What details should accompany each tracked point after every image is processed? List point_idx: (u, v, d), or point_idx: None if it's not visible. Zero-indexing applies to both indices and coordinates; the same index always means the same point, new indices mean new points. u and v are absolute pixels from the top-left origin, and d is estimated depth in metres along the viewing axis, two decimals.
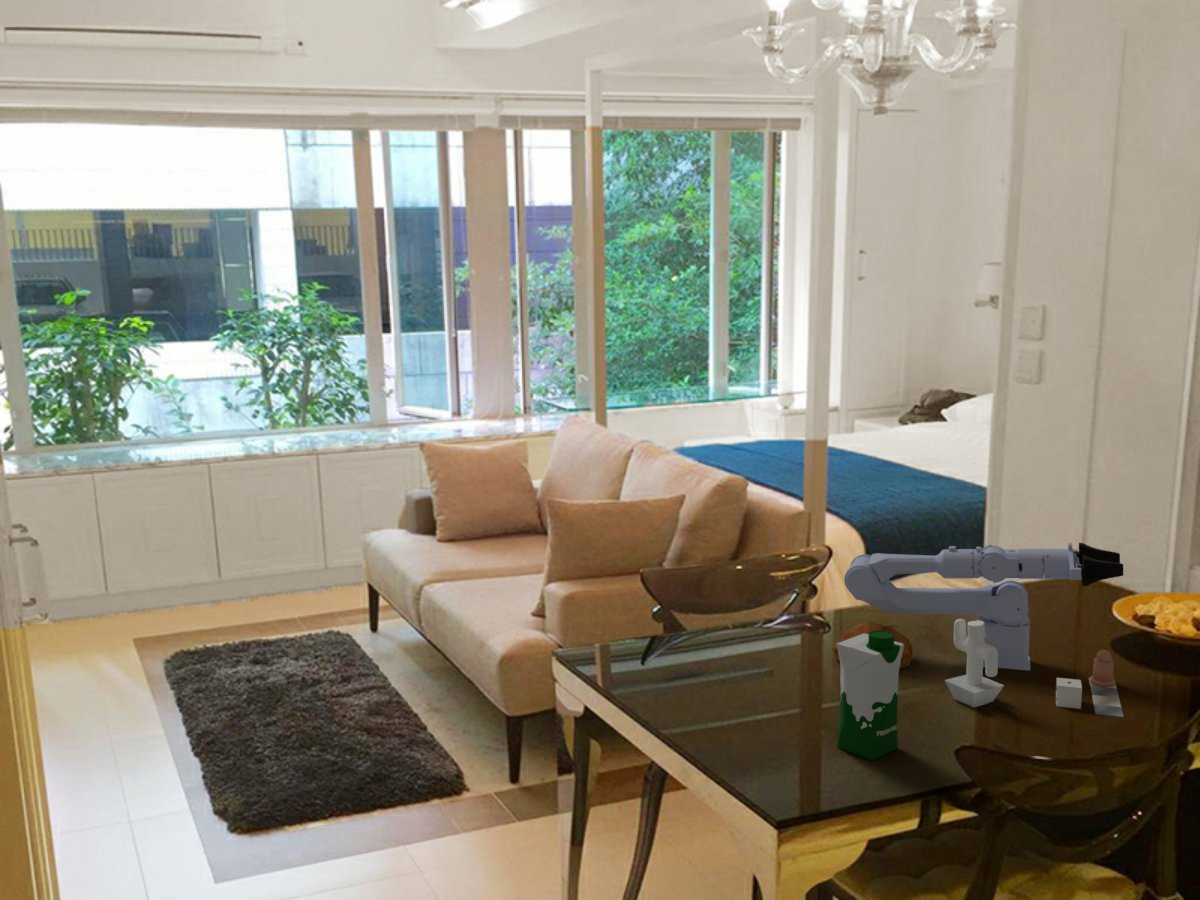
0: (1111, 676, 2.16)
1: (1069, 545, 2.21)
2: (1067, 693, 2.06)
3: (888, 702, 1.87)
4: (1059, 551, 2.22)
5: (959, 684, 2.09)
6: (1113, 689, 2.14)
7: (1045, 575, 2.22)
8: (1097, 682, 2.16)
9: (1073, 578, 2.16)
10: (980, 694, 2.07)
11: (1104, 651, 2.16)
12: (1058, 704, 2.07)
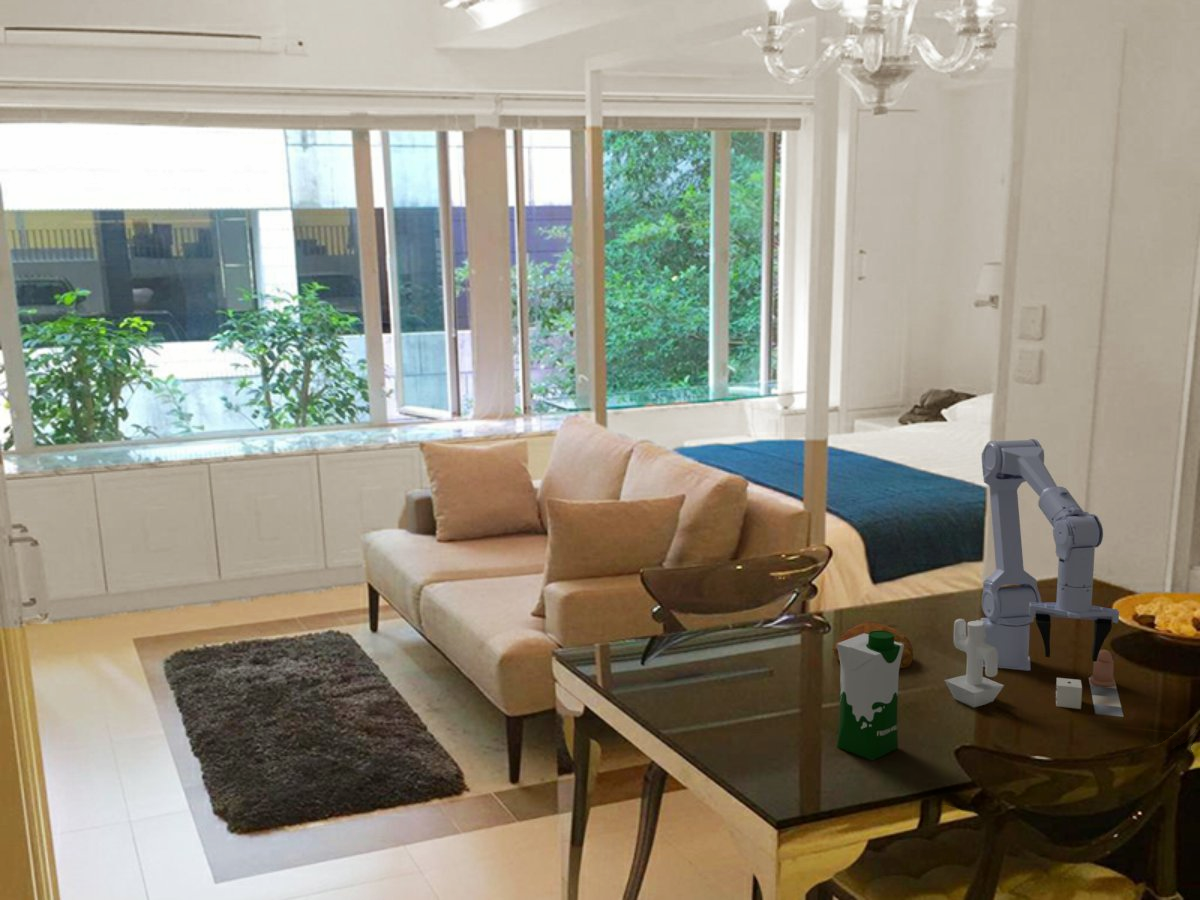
0: (1111, 676, 2.16)
1: (1069, 614, 2.02)
2: (1067, 693, 2.06)
3: (888, 702, 1.87)
4: (1069, 602, 2.03)
5: (959, 684, 2.09)
6: (1113, 689, 2.14)
7: None
8: (1097, 682, 2.16)
9: (1029, 605, 2.08)
10: (980, 694, 2.07)
11: (1104, 651, 2.16)
12: (1058, 704, 2.07)
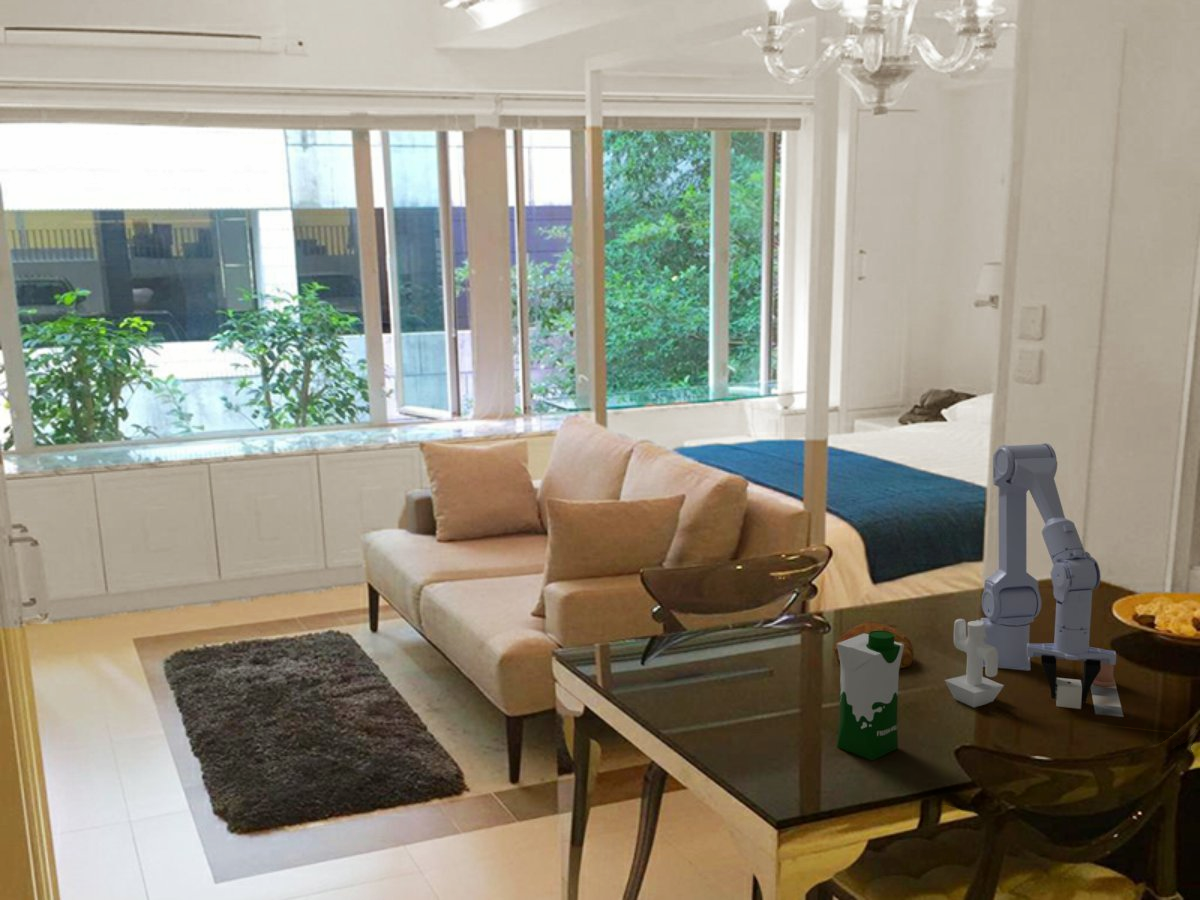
0: (1111, 676, 2.16)
1: (1067, 656, 2.03)
2: (1067, 693, 2.06)
3: (888, 702, 1.87)
4: (1067, 644, 2.04)
5: (959, 684, 2.09)
6: (1113, 689, 2.14)
7: None
8: (1097, 682, 2.16)
9: None
10: (980, 694, 2.07)
11: None
12: (1058, 704, 2.07)
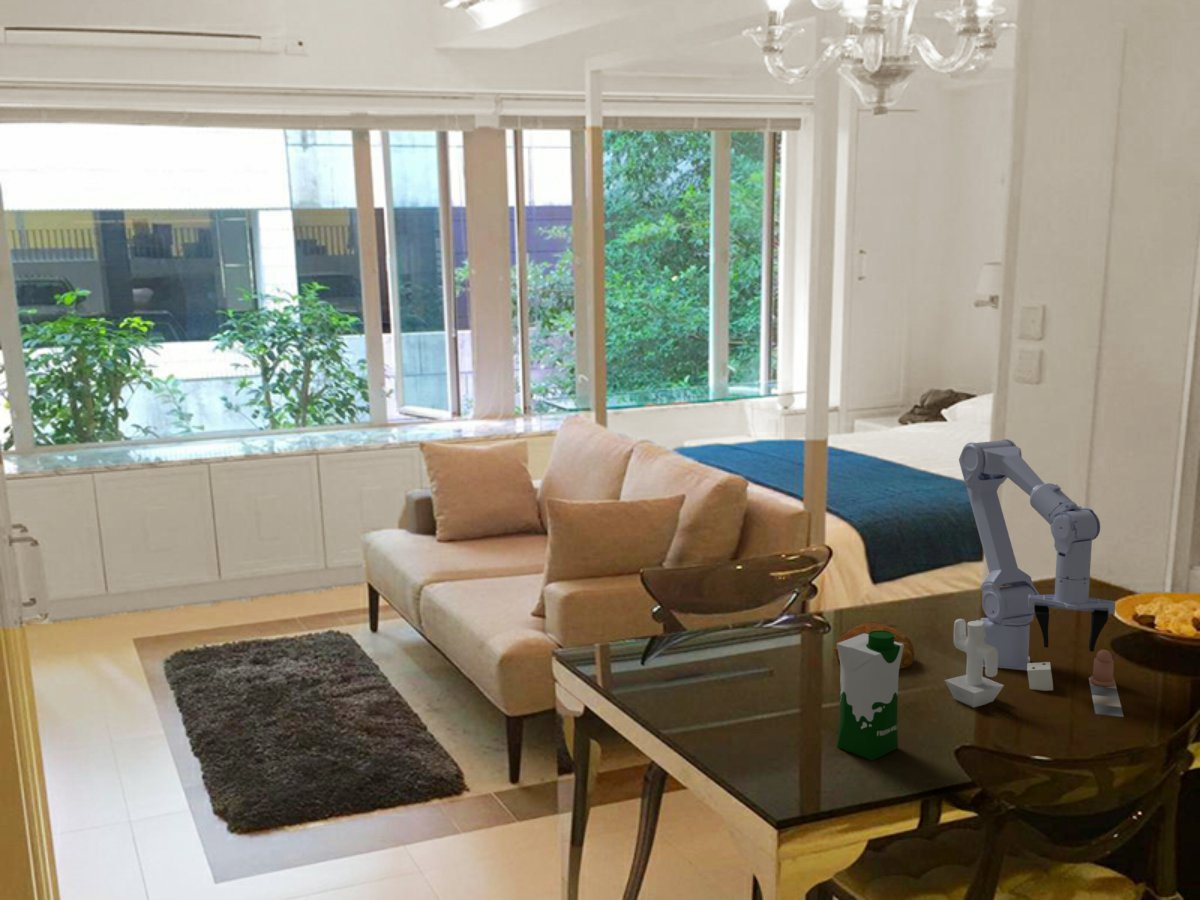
0: (1111, 676, 2.16)
1: (1067, 606, 2.09)
2: (1036, 682, 2.15)
3: (888, 702, 1.87)
4: (1067, 594, 2.09)
5: (959, 684, 2.09)
6: (1113, 689, 2.14)
7: None
8: (1097, 682, 2.16)
9: (1028, 597, 2.15)
10: (980, 694, 2.07)
11: (1104, 651, 2.16)
12: (1049, 688, 2.14)
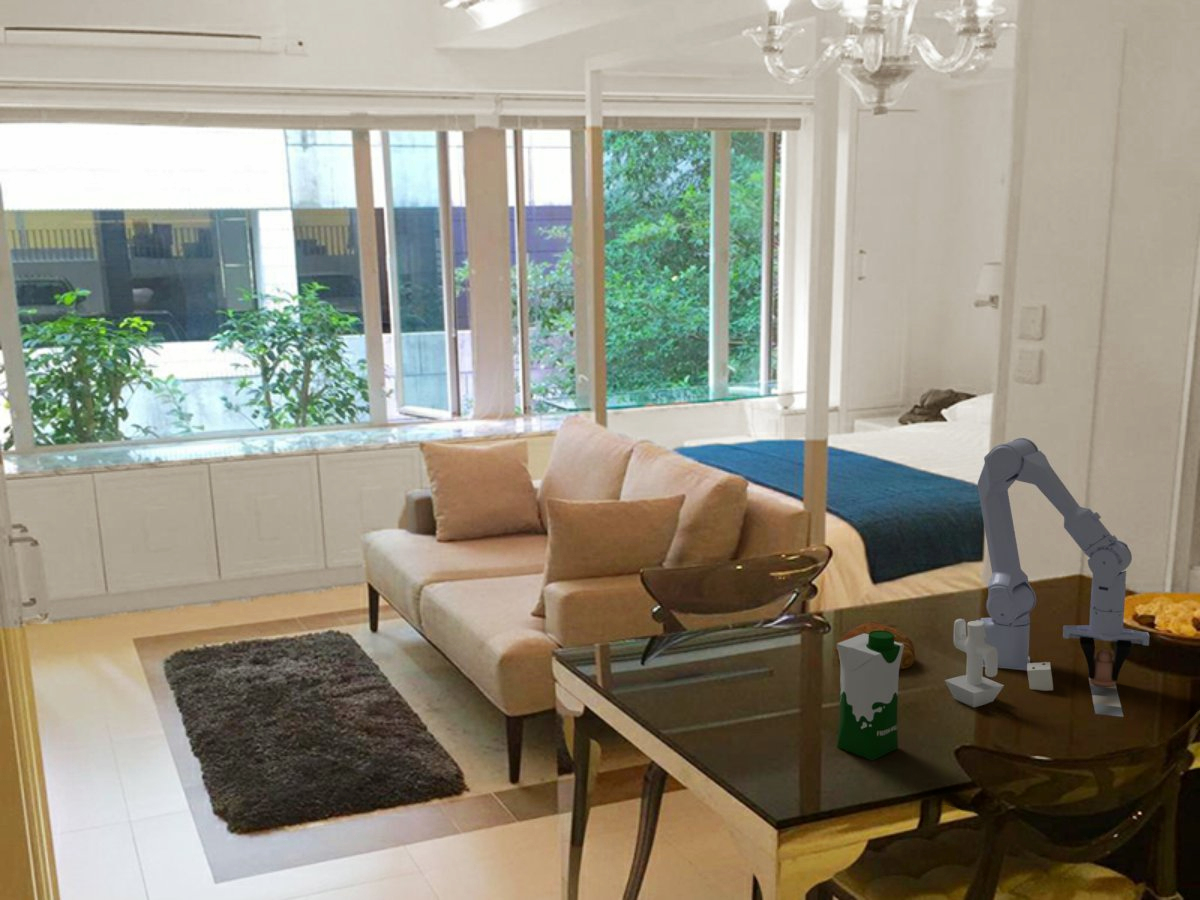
0: (1111, 676, 2.16)
1: (1102, 637, 2.12)
2: (1036, 682, 2.15)
3: (888, 702, 1.87)
4: (1102, 626, 2.13)
5: (959, 684, 2.09)
6: (1113, 689, 2.14)
7: None
8: (1097, 682, 2.16)
9: None
10: (980, 694, 2.07)
11: (1104, 651, 2.16)
12: (1049, 688, 2.14)
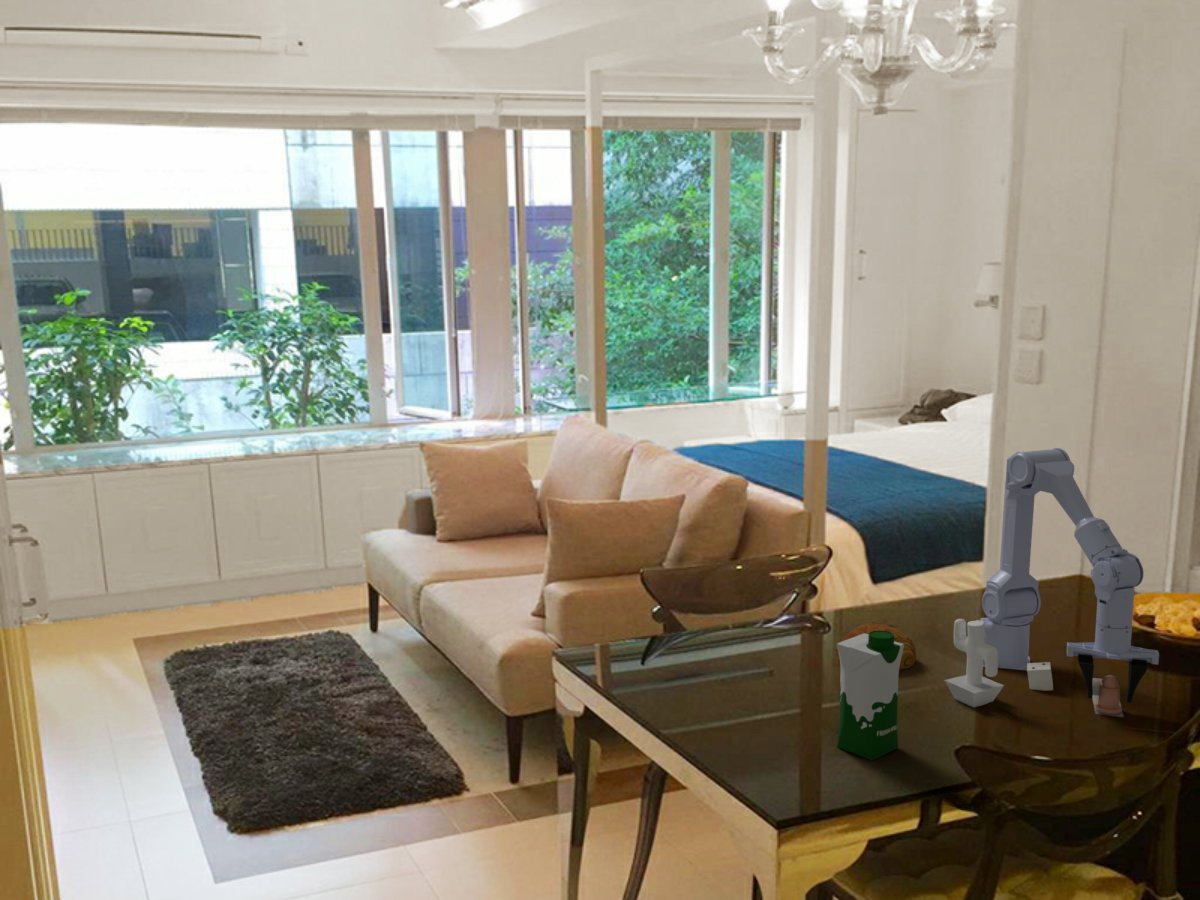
0: (1117, 703, 2.03)
1: (1108, 656, 2.00)
2: (1036, 682, 2.15)
3: (888, 702, 1.87)
4: (1108, 643, 2.00)
5: (959, 684, 2.09)
6: None
7: None
8: (1103, 709, 2.04)
9: None
10: (980, 694, 2.07)
11: (1110, 677, 2.03)
12: (1049, 688, 2.14)
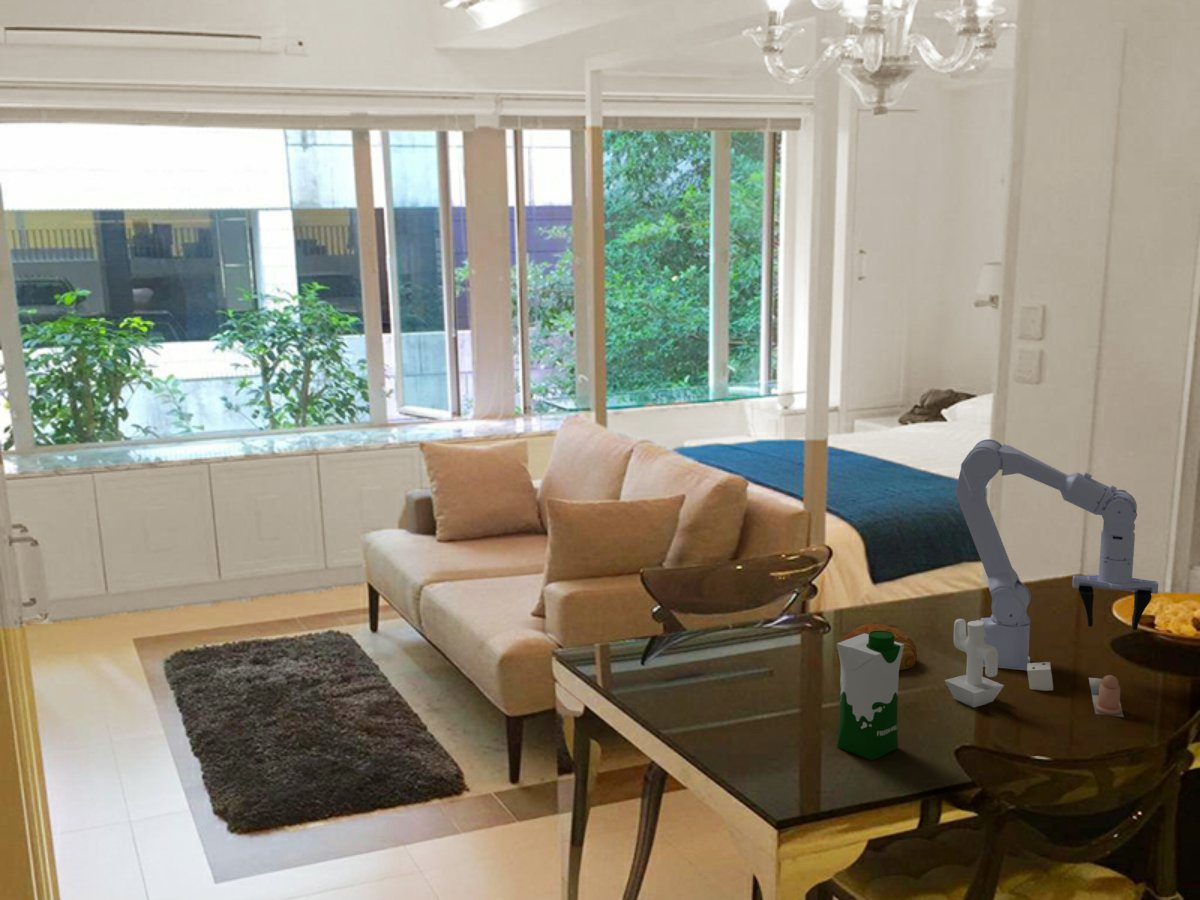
0: (1117, 703, 2.03)
1: (1111, 585, 2.15)
2: (1036, 682, 2.15)
3: (888, 702, 1.87)
4: (1111, 574, 2.16)
5: (959, 684, 2.09)
6: None
7: None
8: (1103, 709, 2.04)
9: None
10: (980, 694, 2.07)
11: (1110, 677, 2.03)
12: (1049, 688, 2.14)
